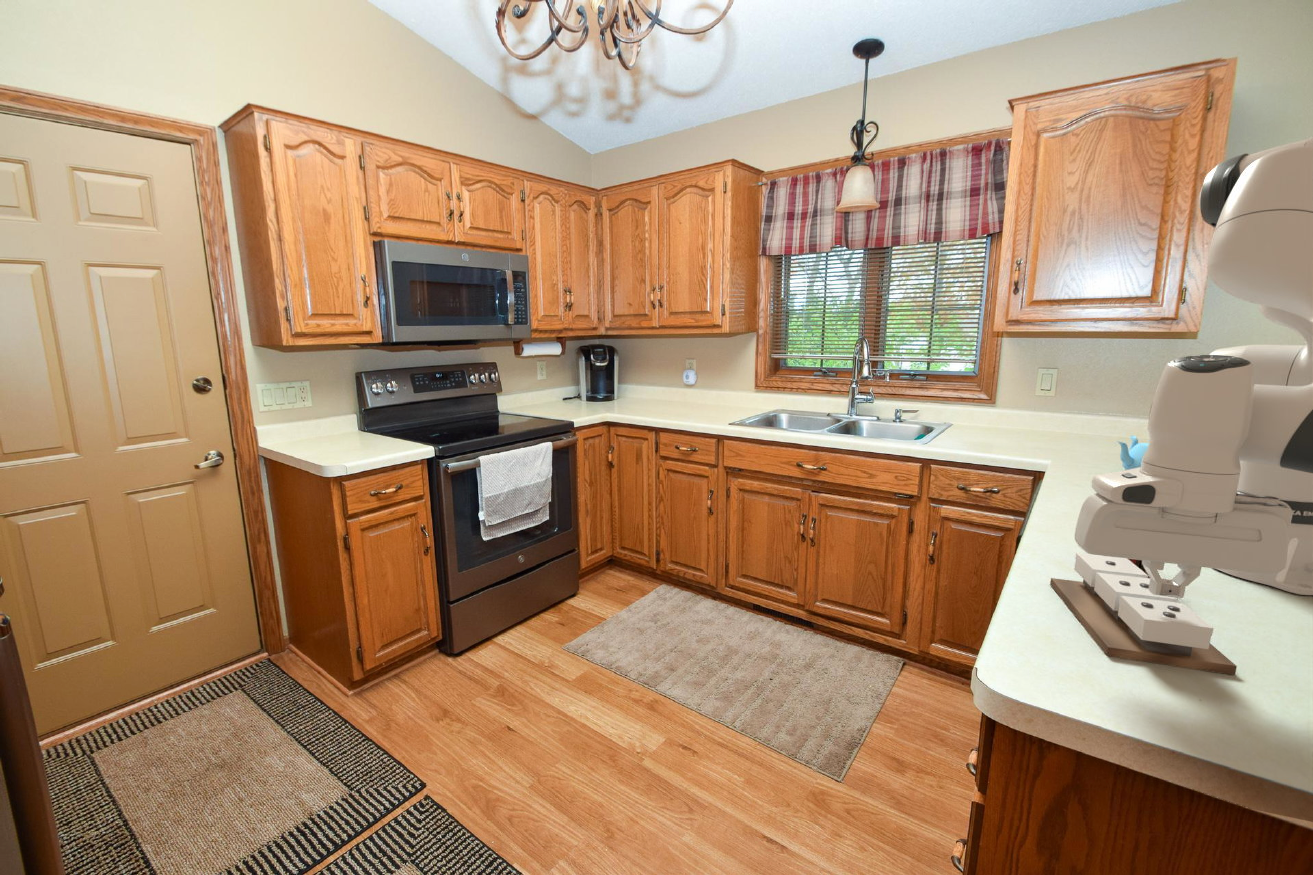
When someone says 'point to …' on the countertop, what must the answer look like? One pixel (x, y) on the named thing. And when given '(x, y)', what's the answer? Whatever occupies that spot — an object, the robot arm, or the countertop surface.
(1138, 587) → the two-pip tile
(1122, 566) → the one-pip tile
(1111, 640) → the walnut board
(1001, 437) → the countertop surface
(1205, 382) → the robot arm
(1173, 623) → the three-pip tile
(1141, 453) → the teapot
